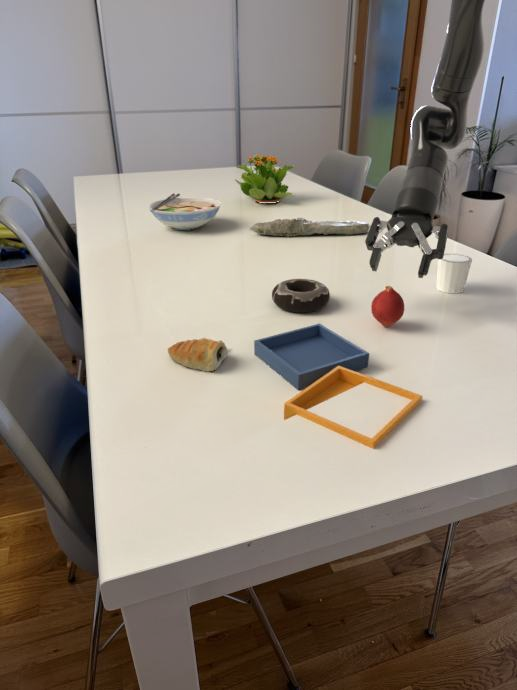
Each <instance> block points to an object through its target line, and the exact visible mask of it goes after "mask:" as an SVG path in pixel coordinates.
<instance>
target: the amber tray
mask: <svg viewBox="0 0 517 690" xmlns="http://www.w3.org/2000/svg"><path fill="white" fill-rule="evenodd" d="M364 383H365V384H367V385H369V386H374V387H375V388H378V389H381V390H384V391H385V392H386V391H387V392H389V393H391V394H395V395H397V396H400V397H403V398H405V399H408V400H410V401H409V402H408V403H407V404H406V405H405V406H404V407H403V408H402V409H401V410H400V411H399V412H398V413H397V414H396V415H394V417H392V419H391V420H390V421H388V422H387V424H385V425H384V427H382V428H381V429H380V430H379V431H378V432H377V433H376V434H375V435H374V436H373V437H372V438H371V437H369V436H366V435H365V434H362V433H360V432H357V431H355V430H353V429H350V428H348V427H346V426H344V425H341V424H339V423H337V422H335V421H332V420H330V419H328V418H325V417H323V416H321V415H318V414H316V413H314V412H312V411H310V410H309V409H311V408H313V407H316V406H317V405H320V404H321V403H324V402H326V401H328V400H330V399H332V398H334V397H336V396H339V395H341V394H343V393H345V392H347V391H349V390H351V389H354V388H356V387H357V386H359V385H362V384H364ZM422 401H423V395H421V394H419V393H416V392H414V391H411V390H408V389H405V388H402V387H399V386H398V385H397V386H396V385H393V384H392V383H388V382H385V381H383V380H380V379H378V378H374V377H371V376H369V375H367V374H363V373H360V372H359V371H356V372H355V371H352V370H349V369H347V368H344V367H341V366H337V367H336V368H334V369H333V370H331V371H330V372H329V373H327V374H326V375H324V376H323V377H321V378H320V379H319V380H317V381H316V382H314V383H313V384H311V385H310V386H309V387H307V388H304V389H302V390H300V392H298V393H297V394H295V395H294V396H293V397H292V398H290V399H288V400H287V401H285V402H284V403H283V404H284V405H283V420H284V421H286V420H289V419H290V418H292V417H295V416H299V417H301V418H303V419H306V420H308V421H310V422H312V423H314V424H317V425H318V426H321V427H324V428H326V429H328V430H330V431H332V432H334V433H337V434H339V435H341V436H344V437H346V438H347V439H348V438H349V439H350V440H352V441H354V442H357V443H359V444H361V445H364V446H366V447H368V448H370V449H375V447H376V446H377V445H378V444H379V443H381V442H382V440H384V439H385V438H386V437H387V436H388V434H390V433H391V432H392V431H393V430H394V429H395V428H396V427H397V426H398V425H399V424H401V422H402V421H403V420H404V419H405V418H406V417H407V416H408V415H409V414H410V413H411V412H412V411H413V410H414V409H415V408H417V406H418V405H419V404H420V403H422Z"/></svg>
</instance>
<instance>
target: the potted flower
mask: <svg viewBox="0 0 517 690" xmlns="http://www.w3.org/2000/svg"><path fill="white" fill-rule="evenodd" d="M247 160H248V161H247V163H248V164H249V166H250V167H248V166H247V165H246V164H239V165H238V166H235V168H236V169H241V170H242V171H244V172H242V173H241V179H242V180H243V181H242V182H241V181H239V180H237V179H236V178H234V181H235V182H236V183H237V184H238V185H240V186H239V187H240V190H241V192H242V193H243V194H244V196H245V195H246V196H247V197H249V198H251V199H254V201H257V202H277V201H280V202H281V200H282V199H283V198H286V197H289V196H292V195H293V193H292V192H289V185H287V184H282V182H283V180H284V179H285V177H286V176H287V172H288V171H289V170H291V169H294V168H296V165H293V164H291V165H287V164H285V165H284V166H283V167H282V168H281V167H279V168H278V169H277V167H278V165H277V164H278V163H279V161H278V158H277V156H271V155H267V156H265V155H261V156H260V154H257V153H256V154H254V156H253V157H252V156H249V157H247ZM252 164H253V165H254V166H253V167H252ZM254 172H255V173H254ZM281 198H282V199H281Z"/></svg>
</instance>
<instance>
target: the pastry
mask: <svg viewBox="0 0 517 690" xmlns="http://www.w3.org/2000/svg"><path fill="white" fill-rule="evenodd" d="M167 353H168V355H169V356H168V357H169V358H170V360H172V361H173V362H174V363H177V364H178V365H181V366H183V367H185V368H188V369H191V370H198V371H199V370H200V371H201V370H202V371H201V372H206V371H207V372H214V370H215V371H216V370H217V369H219V367H220V366H221V364H222V361H224V360H225V359H226V358H227V356H228V349H227V346H226V344H225V342H224V341H222V339H221V340H214V339H209V338H206V337H202V338H199V339H197V338H196V339H186V340H184V341H183V340H182V341H178V342H176V343H175V344H173V345H171V346H169V347H168V348H167Z"/></svg>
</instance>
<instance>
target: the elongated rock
mask: <svg viewBox="0 0 517 690" xmlns="http://www.w3.org/2000/svg"><path fill="white" fill-rule="evenodd" d="M369 226H370V223H369V222H368V223H367V222H365V221H356V220H343V221H340V220H339V221H336V220H326V221H323V220H322V221H321V220H320V221H313V220H308V219H306V218H304V217H297V218H291V219H289V218H284V219H281V218H277V219H274V220H271V221H265V222H256V223H254V224H253V225H252V231H253V232H254V233H257V234H258V235H267V236H273V237H282V236H284V237H287V238H290V237H297V236H311V235H314V234H318V235H321V234H322V235H324V236H326V235H335V234H336V235H346V236H347V235H349V236H352V235H356V234H357V235H359V234H367V233H368V232H369V230H370V227H369Z"/></svg>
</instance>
